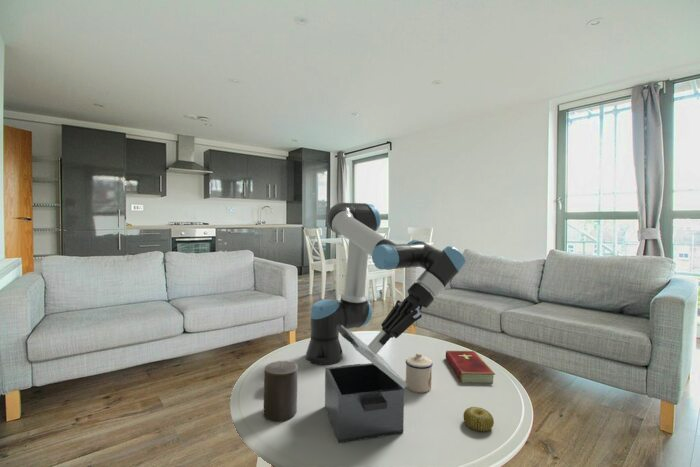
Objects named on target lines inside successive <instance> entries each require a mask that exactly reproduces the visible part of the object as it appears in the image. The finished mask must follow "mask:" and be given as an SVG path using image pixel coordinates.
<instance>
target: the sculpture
mask: <svg viewBox="0 0 700 467" xmlns="http://www.w3.org/2000/svg"><path fill="white" fill-rule="evenodd" d="M462 417H463V421H464V423H465V425H466V426H467V427H469V428H470V429H472V430H474V431H478V432H487V431H490V430H491V429H492V428H494V427H493V426H494V423H495V422H494V420H495V419H494V417H493V415H492V414H491V413H490V412H489V410H486V409H485V408H483V407H481V406H480V407H479V406H470V407H468V408H466V409H465V410H464V412H463V416H462Z"/></svg>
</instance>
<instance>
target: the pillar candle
mask: <svg viewBox="0 0 700 467" xmlns="http://www.w3.org/2000/svg"><path fill="white" fill-rule="evenodd" d="M298 367H299V366H298V364H296V363H295V362H292V361H287V360H277V361H273V362H270V363H268V364H266V365H265V367H264V373H263V374H264V379H263V383H264V384H263V417H264V418H265V419H266V420H268V421H270V422H275V423H277V422H286V421H289V420H291V419H292V418H294V417H296V415H297V411H298V410H297V408H298V404H297V403H298Z"/></svg>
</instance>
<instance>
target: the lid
mask: <svg viewBox="0 0 700 467" xmlns="http://www.w3.org/2000/svg"><path fill="white" fill-rule="evenodd" d="M336 328H337V330H338V331H339V335H340V336H342V338H344V339H345V340H346V341H347V342H349V343H350V344H351V346H352V347H353V348H354V349H355V351H357V352H358V353H359V354H360V355H362V356H363V357H364V358H365V359H366V360H368V361H369V363H373V364H374V365H375V366H377V367H378V368H379V369H380V370H382V371H383V372H384V373H385V374H387V375H388V376H389V377H391V378H392V379H393V380H394V381H396V382H397V383H398V384H399V385H401V386H402V387H403V389H406V388H407V384H406V381H404V380H403V379H402V378H401V376H400V375H399V374H398V373H397V372H396V371H395V369H393V367H392V366H391V365H390V363H388V361H386V360H385V359H384V358H383V356H381V355H380V354H379V353H377V354H376V355H375V354H374V353H373V352H372V351H371V350H370V349H369V348H368V347H367V346H368V345H367V344H366V343H365V342H363V340H361V339H360V338H359V337H358V336H356V335H355V334H354V333H353V332H351V331H350V329H346V328H345V327H344V326H343V325H341V326H340V325H339V324H338V325H337V327H336Z"/></svg>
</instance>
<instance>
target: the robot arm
mask: <svg viewBox="0 0 700 467" xmlns="http://www.w3.org/2000/svg"><path fill="white" fill-rule="evenodd" d="M381 220H382V219H381V214H380V211H379V210H378V208H377V207H376V206H375V205H373V204H371V203H370V204H369V203H363V202H362V203H361V202H339V203H336V204H334V205H333V206H332V207H330V208H329V210H328V211H327V215H326V224H327V226H328V228H329V229H330V230H331V231H332V232H333V233H335V234H336V235H338V236H343V237H344V238H346V239H347V240H348V248H347V250H348V251H347V262H346V274H345V283H344V284H345V286H344V287H345V288H344V292H343V293H342V295H341V296H340V301H339V300H337V299H335V298H334V299H332V298H329V299H320V300H318V301H315V302H314V303H313V304H312V305H311V309H310V340H309V343H308V347H307V350H306V353H305V354H306V355H305V358H306V360H307V362H309V363H310V364H314V365H320V366H321V365H322V366H324V365H325V366H326V365H327V366H328V365H333V364H336V363H339V362H341V361H342V360H343V355H344V354H343V348H342V345H341V341H340V339H339V337H340V336H339V335H340V332H339V331H338V330H337V328H336V327H337V325H338V324H339V325H340V326H341V325H343V326H344V327H345V328H346V329H348V330H350V329H356V328H357V329H358V328H361V327H363V326H364V327H365V326H367V324H369V322H370V321H371V319H372V315H373V308H372V304H371V303H370V301H369V299H368V297H367V295H366V294H365V293H366V281H367V271H368V260H369V259H368V258H369V255H370V256H371V260H372V263H373V264H374V267H375V268H377V269H379V270H387V271H390V270H391V271H392V270H395V269H396V270H397V269H408V268H410V269H412V268H421V269H424V271H423V272H422V273H421V274H420V275H419V276H418V278H417V279H416V282H414V283H412V284H411V286H409V288H408V289H407V291H406V292H407V294H408V296H406V298H404V299H403V300H402V301H400V299H398V300H397V301H396V303H395V304H394V306H393V308H392V309H391V311H390V312H389V313H388V314H387V316H386V317H385V318H384V320H383V321H382V322H381V324H380V326H381V330H380V331H379V333H377V335H376V336H375V337H374V338H373V339H372V341H370V343H369V344H368V345H367V347H368V348H369V349H370V350H371V351H372V352H373V353H374V354H375V355H376V354H379V352H380V351H381V349H382V348H383V347H385V345H386V344H387V342H388V341H389V340H390V339H391V338H395V339H397V338H399V337H400V336H401V335H402V334H403V333H404V332H405V331H407V330H408V329H409V328H410V327H411V326H412V325H413V324H414V323H415V322H417V321H418V320H419V319H422V317H423V316H422V314H421V313H420V311H421V310H422V308H425V309H427V308H428V307H429V306H430V305H431V304H432V303H433V302H434V299H435V298H437V296H438V295H439V294H441V292H443V289H444V288H446V287H447V285H448V284H449V283H450V282H451V280H453V278H455V276H456V275H457V274H458V273H460V270H461V269H462V268H463V267H464V265H465V264H466V260H467V259H466V257H465V255H464V254H463V253H462V252H461V251H460V250H459V249H457V248H456V247H454V246H451V245H449V246H445V247H444V248H443V249H442V250H441V249H439V248H436V247H434V246H433V245H430V244H428V243H426V242H425V241H422V240H418V239H412V240H411V241H409V242H407V243H401V244H400V243H394V242H393V241H391V240H390V239H388V238H386V237H385V236H383V235H382V234H380V233H379V232H377V231H378V230H379V228H380V227H381Z"/></svg>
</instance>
